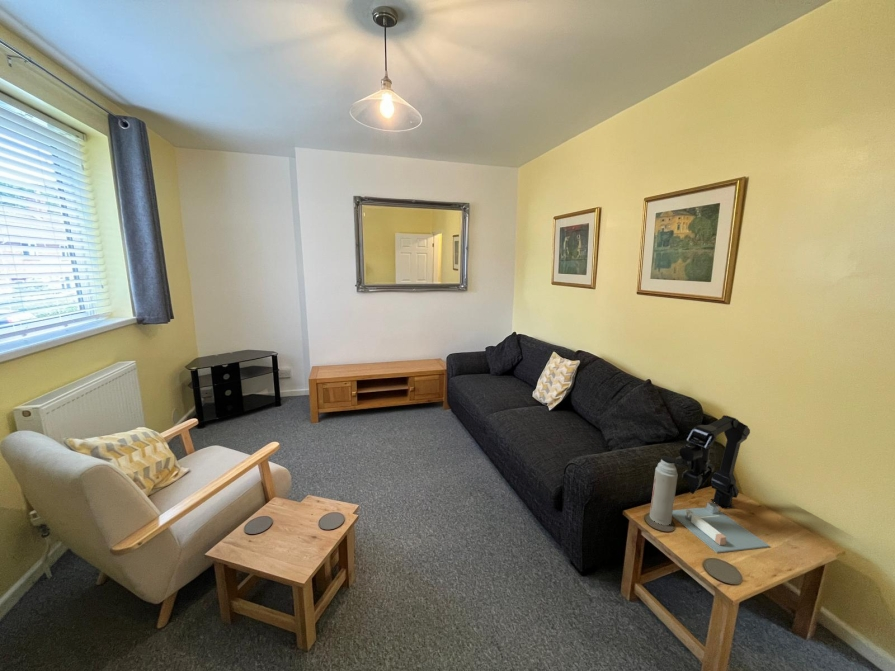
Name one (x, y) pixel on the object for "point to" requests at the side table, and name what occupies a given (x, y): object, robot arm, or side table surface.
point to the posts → (710, 507)
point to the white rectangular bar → (708, 530)
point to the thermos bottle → (664, 491)
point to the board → (730, 529)
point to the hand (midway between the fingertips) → (696, 489)
